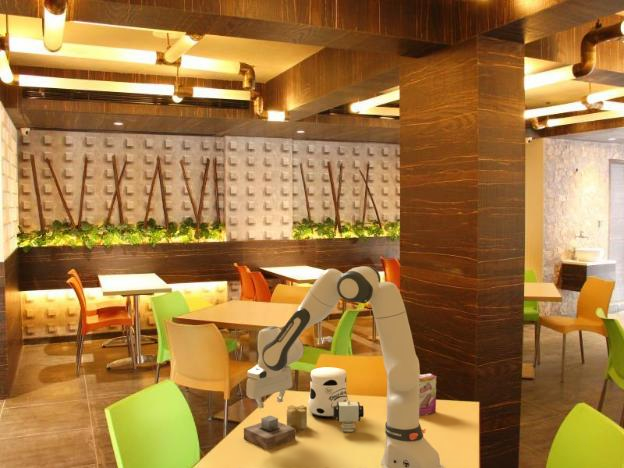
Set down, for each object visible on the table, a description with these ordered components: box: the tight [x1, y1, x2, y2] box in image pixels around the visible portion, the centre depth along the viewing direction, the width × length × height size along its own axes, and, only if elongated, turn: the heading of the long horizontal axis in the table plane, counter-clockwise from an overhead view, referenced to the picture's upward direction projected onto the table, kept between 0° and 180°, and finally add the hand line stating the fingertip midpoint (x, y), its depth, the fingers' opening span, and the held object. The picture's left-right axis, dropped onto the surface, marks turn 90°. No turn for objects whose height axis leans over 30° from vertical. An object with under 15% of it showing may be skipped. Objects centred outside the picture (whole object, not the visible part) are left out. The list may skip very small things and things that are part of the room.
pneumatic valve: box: [333, 400, 365, 433], centre depth 238 cm, size 6×12×12 cm, turn 91°
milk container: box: [307, 366, 350, 418], centre depth 257 cm, size 17×17×18 cm
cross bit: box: [286, 404, 308, 432], centre depth 241 cm, size 8×8×8 cm
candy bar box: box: [419, 373, 437, 417], centre depth 257 cm, size 11×5×16 cm, turn 115°
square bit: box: [260, 415, 279, 433], centre depth 230 cm, size 4×4×8 cm
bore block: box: [243, 421, 296, 450], centre depth 230 cm, size 14×14×4 cm
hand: (270, 404), depth 229 cm, fingers open, 8 cm apart
